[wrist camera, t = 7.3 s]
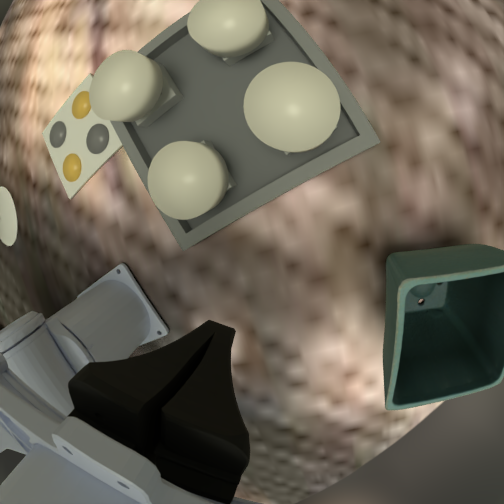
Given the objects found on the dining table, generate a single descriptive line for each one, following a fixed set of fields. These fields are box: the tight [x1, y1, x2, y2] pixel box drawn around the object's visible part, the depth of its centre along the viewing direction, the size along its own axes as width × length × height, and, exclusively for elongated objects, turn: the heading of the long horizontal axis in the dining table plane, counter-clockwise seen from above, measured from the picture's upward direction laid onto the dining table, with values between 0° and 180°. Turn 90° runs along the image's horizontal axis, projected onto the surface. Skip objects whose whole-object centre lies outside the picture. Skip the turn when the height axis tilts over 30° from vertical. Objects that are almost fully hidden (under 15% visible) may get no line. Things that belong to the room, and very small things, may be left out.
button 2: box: [187, 0, 269, 57], centre depth 15 cm, size 5×5×4 cm
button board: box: [110, 0, 380, 251], centre depth 18 cm, size 16×16×2 cm
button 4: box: [89, 50, 163, 122], centre depth 16 cm, size 5×5×4 cm
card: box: [42, 73, 123, 199], centre depth 22 cm, size 9×9×1 cm
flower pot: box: [383, 244, 504, 410], centre depth 16 cm, size 9×9×9 cm
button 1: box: [243, 62, 340, 153], centre depth 15 cm, size 5×5×4 cm
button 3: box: [148, 141, 229, 220], centre depth 19 cm, size 5×5×4 cm
